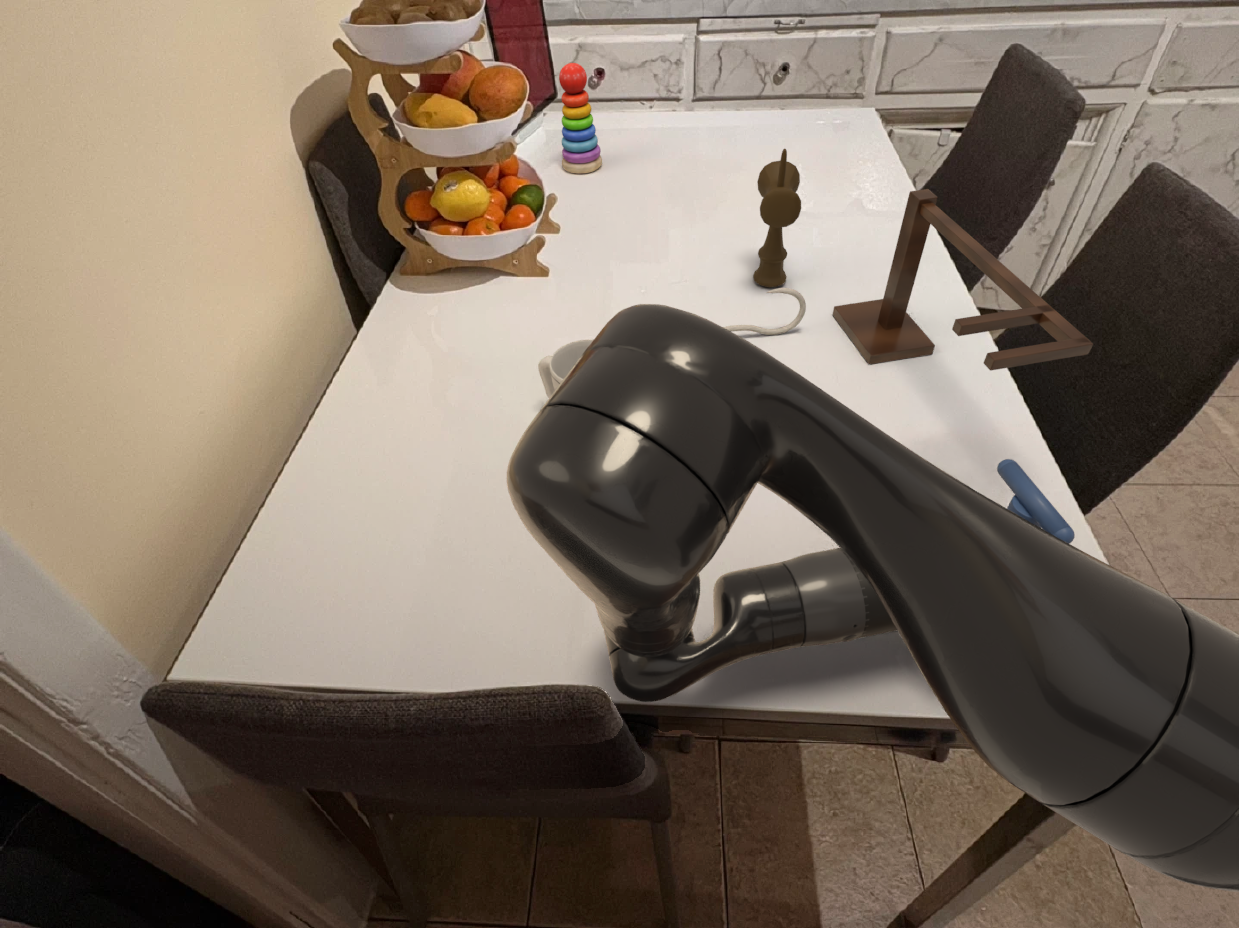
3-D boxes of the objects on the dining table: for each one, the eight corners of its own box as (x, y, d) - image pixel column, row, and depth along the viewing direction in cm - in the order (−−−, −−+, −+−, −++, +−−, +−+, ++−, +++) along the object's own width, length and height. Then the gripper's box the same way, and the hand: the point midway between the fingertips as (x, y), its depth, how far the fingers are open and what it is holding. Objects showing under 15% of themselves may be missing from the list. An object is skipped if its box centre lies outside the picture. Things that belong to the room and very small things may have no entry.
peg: (972, 662, 64) (1045, 541, 52) (925, 585, 70) (980, 459, 58) (1017, 653, 65) (1100, 530, 53) (967, 576, 71) (1030, 450, 59)
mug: (525, 425, 90) (513, 360, 82) (566, 388, 94) (558, 323, 87) (600, 459, 85) (595, 393, 78) (640, 418, 89) (637, 352, 82)
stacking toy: (573, 156, 147) (563, 54, 134) (608, 161, 144) (603, 57, 131) (555, 172, 142) (544, 67, 129) (592, 177, 139) (584, 71, 126)
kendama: (788, 265, 113) (805, 134, 99) (790, 298, 107) (810, 163, 93) (749, 264, 114) (761, 134, 100) (749, 297, 107) (762, 163, 93)
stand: (1043, 484, 79) (1125, 333, 65) (936, 504, 78) (996, 354, 64) (891, 305, 104) (926, 169, 90) (808, 318, 103) (831, 182, 89)
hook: (816, 347, 97) (670, 379, 98) (796, 308, 104) (660, 339, 105) (816, 301, 92) (662, 336, 93) (795, 264, 99) (652, 297, 100)
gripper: (889, 642, 53) (1104, 598, 54) (815, 502, 62) (1000, 469, 64) (868, 692, 58) (1065, 650, 60) (803, 556, 68) (974, 523, 70)
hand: (1030, 556), depth 62 cm, fingers closed on peg, 3 cm apart
